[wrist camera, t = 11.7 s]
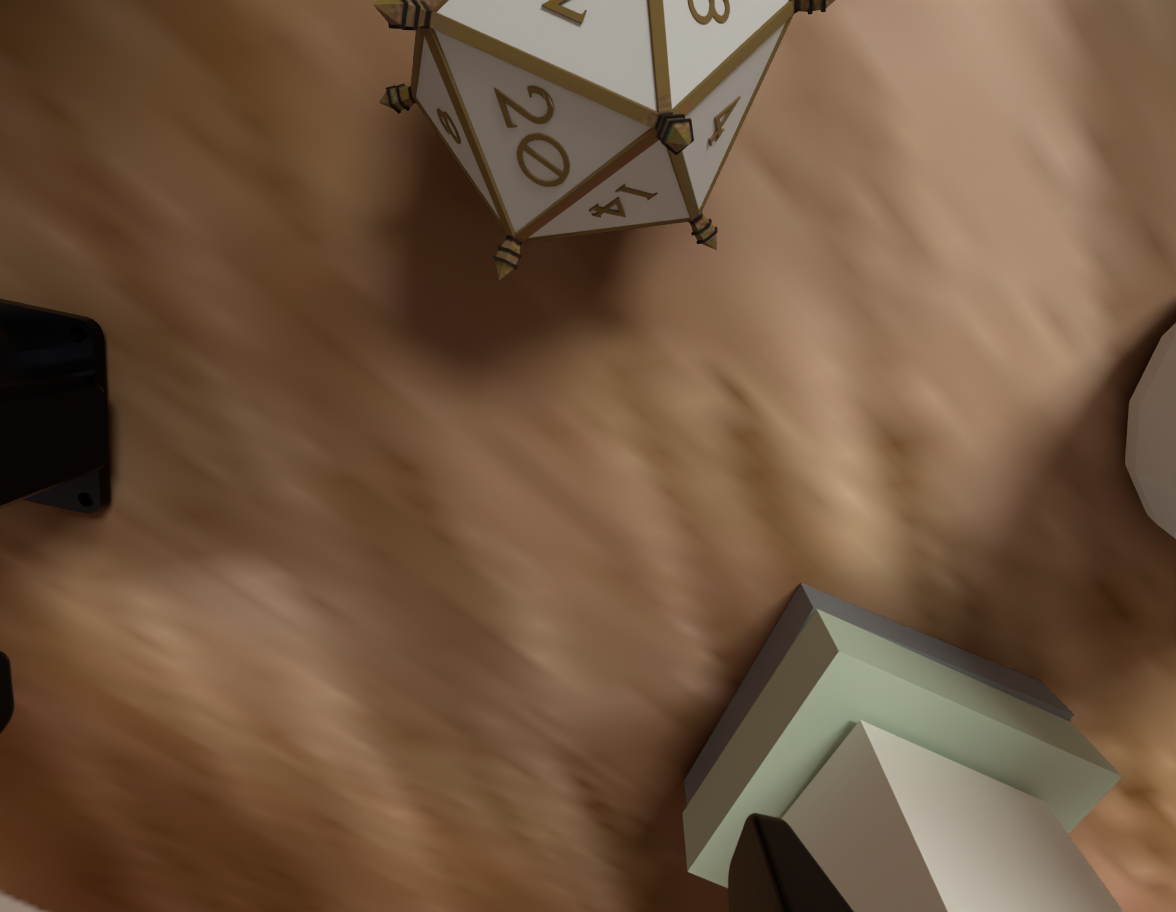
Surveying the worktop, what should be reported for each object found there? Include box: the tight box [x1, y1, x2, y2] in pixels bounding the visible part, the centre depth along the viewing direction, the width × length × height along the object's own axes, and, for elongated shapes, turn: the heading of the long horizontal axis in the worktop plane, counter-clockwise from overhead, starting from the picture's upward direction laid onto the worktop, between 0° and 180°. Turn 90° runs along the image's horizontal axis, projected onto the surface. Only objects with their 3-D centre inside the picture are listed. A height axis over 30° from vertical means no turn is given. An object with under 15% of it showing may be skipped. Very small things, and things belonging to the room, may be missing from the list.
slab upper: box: [682, 609, 1122, 888], centre depth 20 cm, size 9×9×2 cm
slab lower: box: [684, 583, 1074, 805], centre depth 22 cm, size 9×9×2 cm
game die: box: [374, 0, 835, 280], centre depth 13 cm, size 9×8×10 cm
